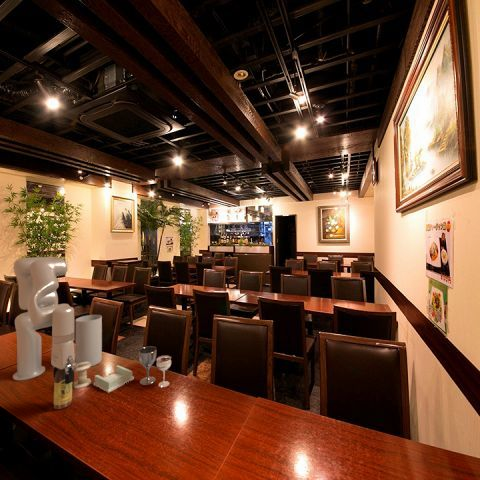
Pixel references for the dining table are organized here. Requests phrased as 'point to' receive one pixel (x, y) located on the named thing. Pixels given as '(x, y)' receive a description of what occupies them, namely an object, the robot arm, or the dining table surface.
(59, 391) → the sauce bottle
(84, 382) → the bobbin
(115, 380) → the notched board
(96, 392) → the dining table surface
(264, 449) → the dining table surface
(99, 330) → the cylinder vase
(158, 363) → the wineglass
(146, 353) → the wine glass
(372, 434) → the dining table surface
